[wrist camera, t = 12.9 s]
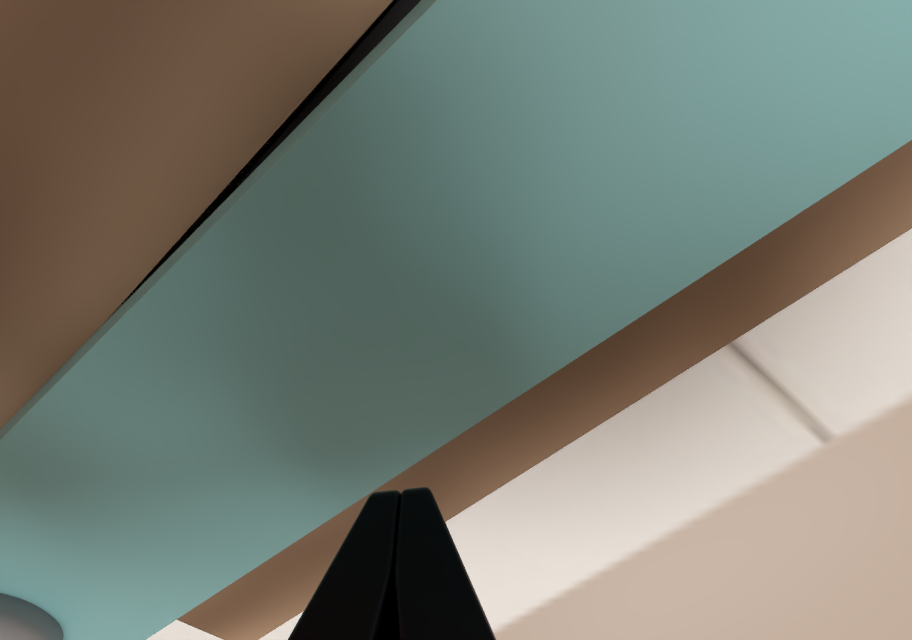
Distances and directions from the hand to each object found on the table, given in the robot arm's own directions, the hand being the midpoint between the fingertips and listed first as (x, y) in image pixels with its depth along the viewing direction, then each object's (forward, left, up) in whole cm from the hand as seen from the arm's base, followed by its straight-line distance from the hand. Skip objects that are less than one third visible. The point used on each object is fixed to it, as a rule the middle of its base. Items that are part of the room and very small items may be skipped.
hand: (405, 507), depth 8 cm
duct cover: (-2, -1, -4) cm, 5 cm away
